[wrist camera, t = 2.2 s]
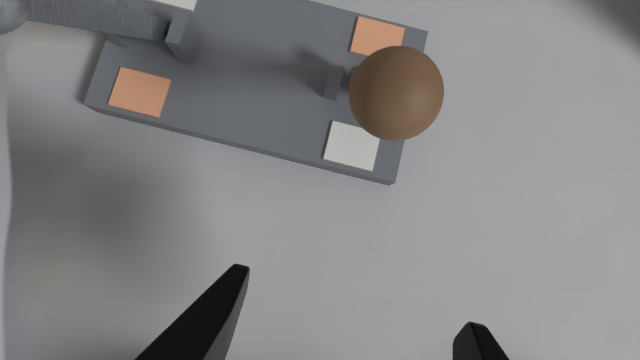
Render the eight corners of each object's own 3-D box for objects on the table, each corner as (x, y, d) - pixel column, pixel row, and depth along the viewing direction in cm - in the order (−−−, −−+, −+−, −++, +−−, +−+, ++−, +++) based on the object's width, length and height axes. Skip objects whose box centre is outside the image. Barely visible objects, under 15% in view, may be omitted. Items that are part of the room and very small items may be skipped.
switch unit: (389, 185, 24) (406, 176, 20) (96, 112, 23) (56, 88, 20) (420, 43, 25) (442, 9, 21) (145, -28, 25) (117, -76, 21)
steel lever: (173, 57, 22) (-25, 43, 10) (127, 46, 22) (-126, 17, 10) (179, 8, 21) (-27, -72, 9) (132, -5, 21) (-138, -101, 9)
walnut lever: (384, 111, 22) (436, 159, 10) (339, 100, 22) (338, 135, 10) (398, 64, 22) (471, 57, 10) (351, 52, 22) (366, 30, 10)
